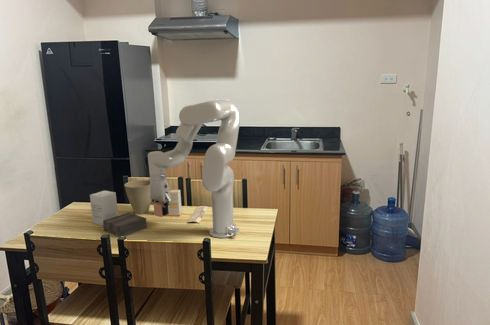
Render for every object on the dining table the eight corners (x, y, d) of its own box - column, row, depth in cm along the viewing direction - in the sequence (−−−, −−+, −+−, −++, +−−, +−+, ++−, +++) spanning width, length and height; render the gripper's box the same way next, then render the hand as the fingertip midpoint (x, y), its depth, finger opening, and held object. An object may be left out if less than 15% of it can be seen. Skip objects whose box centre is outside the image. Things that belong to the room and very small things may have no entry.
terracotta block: (169, 214, 182) (168, 202, 181) (161, 217, 178) (160, 205, 177) (162, 212, 185) (161, 200, 184) (154, 215, 181) (153, 203, 180)
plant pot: (140, 206, 212) (137, 178, 209) (161, 209, 205) (159, 181, 202) (120, 214, 199) (118, 185, 196) (142, 218, 192) (140, 188, 189)
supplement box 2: (182, 213, 198) (180, 189, 196) (179, 216, 194) (178, 192, 191) (167, 213, 199) (165, 189, 196) (164, 216, 194) (162, 192, 192)
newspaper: (197, 208, 207) (197, 205, 207) (210, 209, 206) (210, 206, 206) (187, 224, 184) (186, 221, 184) (201, 225, 183) (201, 221, 183)
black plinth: (146, 228, 179) (146, 218, 178) (121, 237, 168) (120, 227, 167) (129, 221, 187) (128, 212, 186) (104, 230, 177) (103, 220, 176)
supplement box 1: (107, 217, 194) (104, 189, 191) (119, 220, 190) (116, 192, 187) (92, 223, 187) (89, 194, 183) (104, 226, 182) (101, 197, 179)
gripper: (176, 177, 175) (179, 214, 179) (153, 174, 186) (157, 208, 189) (163, 180, 170) (167, 219, 173) (140, 177, 180) (144, 213, 184)
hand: (161, 213), depth 181 cm, fingers closed on terracotta block, 5 cm apart
